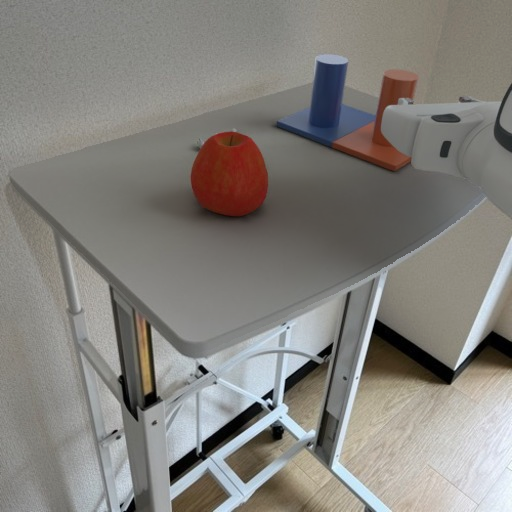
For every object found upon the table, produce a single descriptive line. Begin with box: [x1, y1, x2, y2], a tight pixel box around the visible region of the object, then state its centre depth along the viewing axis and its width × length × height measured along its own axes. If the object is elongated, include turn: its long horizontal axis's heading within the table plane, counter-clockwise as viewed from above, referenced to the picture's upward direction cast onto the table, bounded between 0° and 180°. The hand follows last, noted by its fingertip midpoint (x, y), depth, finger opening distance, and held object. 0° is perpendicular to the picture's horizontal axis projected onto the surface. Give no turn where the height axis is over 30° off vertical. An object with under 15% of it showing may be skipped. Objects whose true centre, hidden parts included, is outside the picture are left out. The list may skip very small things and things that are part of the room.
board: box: [276, 103, 412, 172], centre depth 97 cm, size 24×16×1 cm, turn 49°
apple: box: [189, 130, 269, 217], centre depth 72 cm, size 10×10×10 cm
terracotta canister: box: [372, 68, 420, 146], centre depth 90 cm, size 6×6×11 cm
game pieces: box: [196, 128, 238, 150], centre depth 90 cm, size 8×2×2 cm, turn 128°
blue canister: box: [309, 53, 349, 128], centre depth 95 cm, size 6×6×11 cm
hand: (432, 101), depth 79 cm, fingers open, 8 cm apart
